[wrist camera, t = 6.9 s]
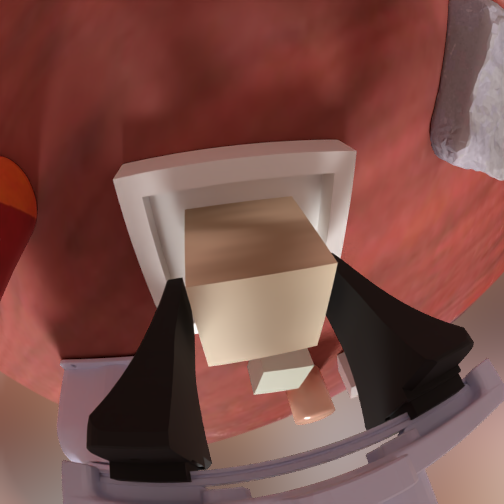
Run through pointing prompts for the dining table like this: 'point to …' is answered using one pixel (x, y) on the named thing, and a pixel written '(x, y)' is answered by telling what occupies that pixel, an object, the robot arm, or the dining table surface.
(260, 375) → the sage block
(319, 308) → the beech cube
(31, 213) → the paper cup
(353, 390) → the grey block
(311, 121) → the dining table surface
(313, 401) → the terracotta cylinder
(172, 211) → the white square tray
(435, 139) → the stone block
